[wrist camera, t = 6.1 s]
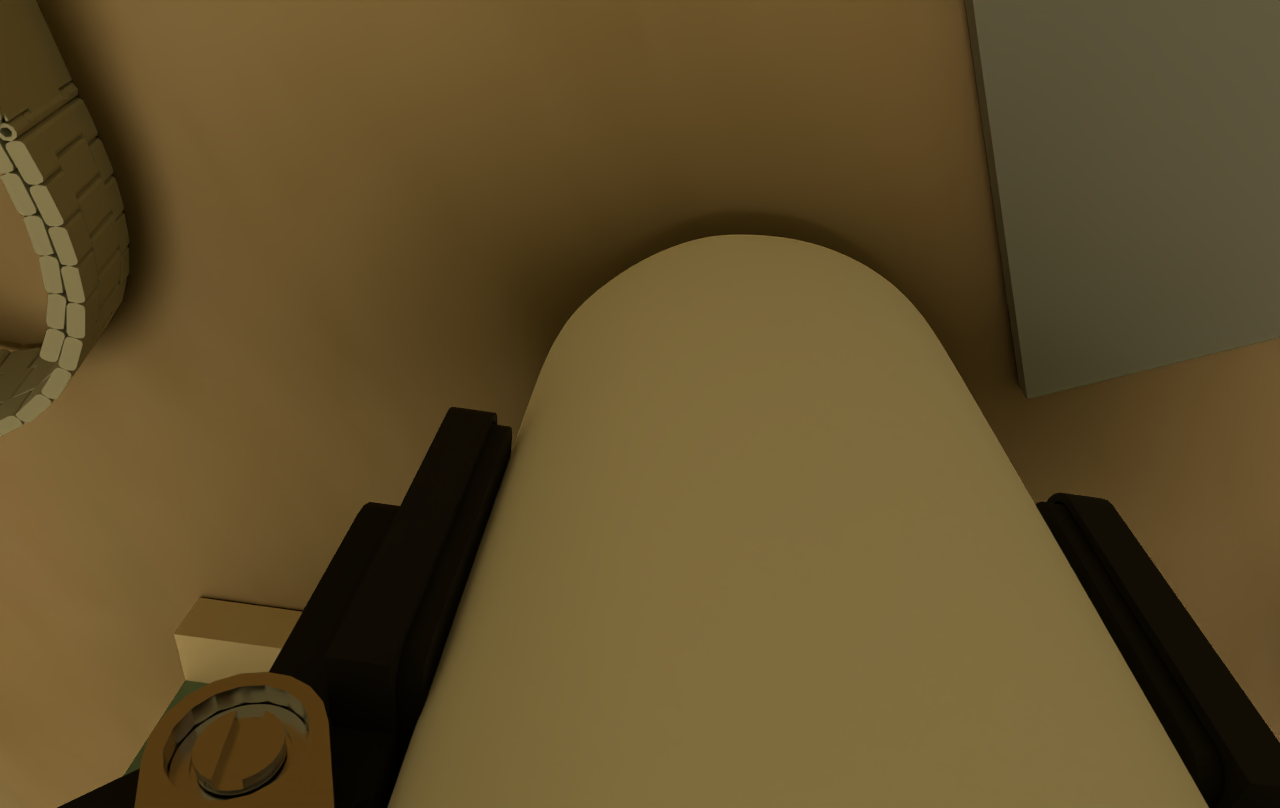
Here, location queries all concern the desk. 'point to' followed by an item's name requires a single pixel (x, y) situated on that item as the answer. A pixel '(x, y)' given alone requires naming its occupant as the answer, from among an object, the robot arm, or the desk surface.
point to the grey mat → (1131, 179)
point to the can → (772, 573)
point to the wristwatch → (55, 211)
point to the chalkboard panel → (226, 644)
